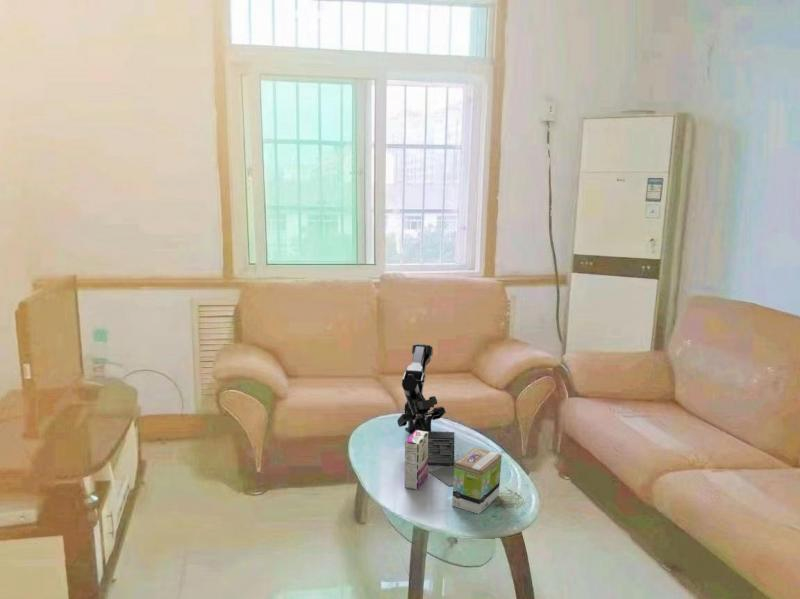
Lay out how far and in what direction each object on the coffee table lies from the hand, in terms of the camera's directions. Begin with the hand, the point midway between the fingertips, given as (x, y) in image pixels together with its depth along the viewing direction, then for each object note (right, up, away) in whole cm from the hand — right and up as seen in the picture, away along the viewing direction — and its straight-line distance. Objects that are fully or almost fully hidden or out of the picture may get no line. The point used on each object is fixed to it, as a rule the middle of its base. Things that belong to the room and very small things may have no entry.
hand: (429, 437), depth 230 cm
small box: (+3, -8, -4) cm, 10 cm away
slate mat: (+9, -10, -13) cm, 19 cm away
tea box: (+13, -14, -32) cm, 37 cm away
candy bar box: (-6, -11, -20) cm, 23 cm away
